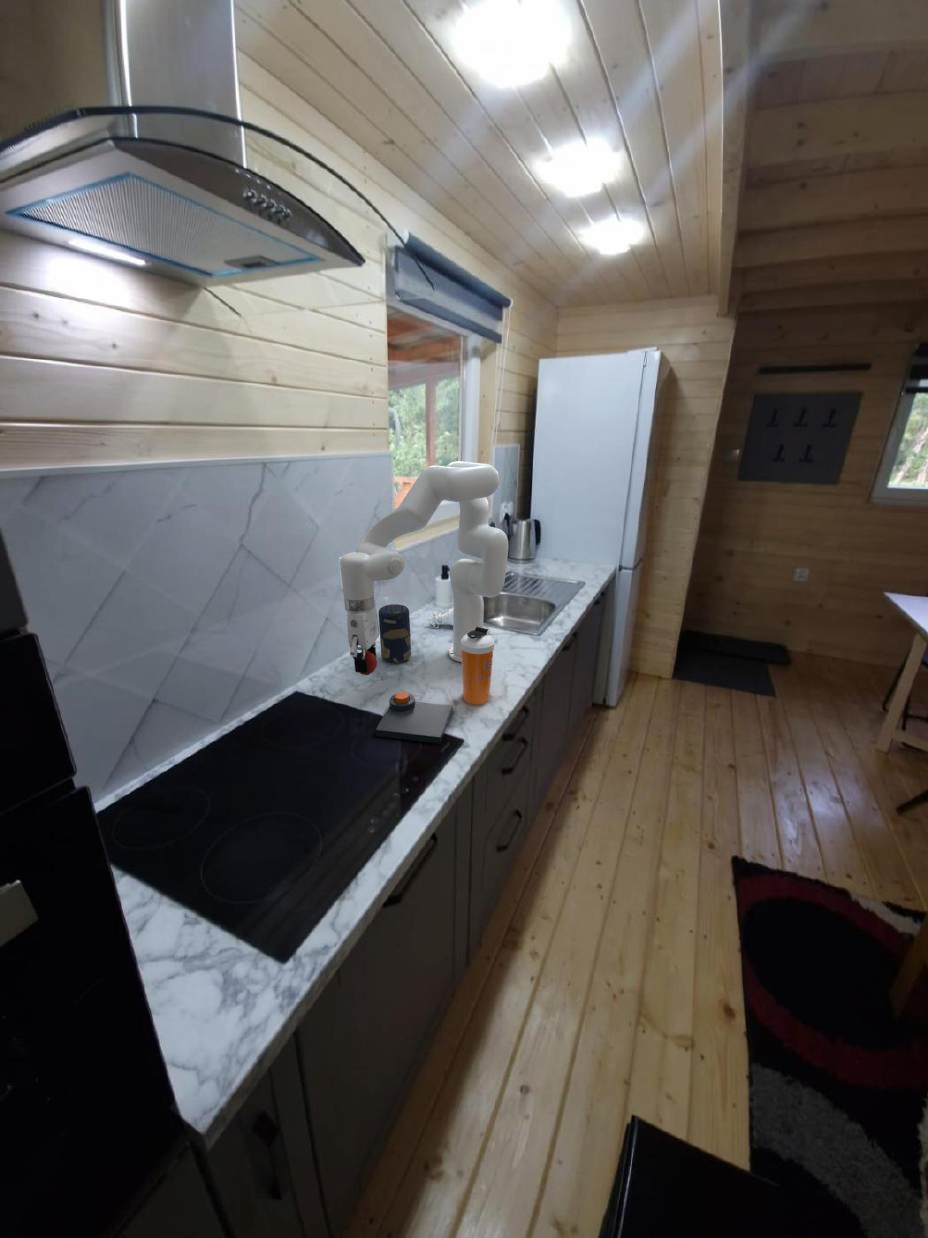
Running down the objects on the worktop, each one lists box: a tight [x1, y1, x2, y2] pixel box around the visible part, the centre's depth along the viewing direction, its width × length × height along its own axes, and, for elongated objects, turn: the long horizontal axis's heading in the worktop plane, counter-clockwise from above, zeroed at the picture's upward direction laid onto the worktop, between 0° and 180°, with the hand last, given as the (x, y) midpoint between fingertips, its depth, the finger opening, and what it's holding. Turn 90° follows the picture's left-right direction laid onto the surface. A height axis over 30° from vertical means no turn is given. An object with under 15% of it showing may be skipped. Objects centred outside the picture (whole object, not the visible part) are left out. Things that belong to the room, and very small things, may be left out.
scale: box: [375, 692, 453, 745], centre depth 124 cm, size 15×16×4 cm
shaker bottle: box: [461, 627, 495, 706], centre depth 132 cm, size 9×9×20 cm
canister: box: [378, 603, 412, 663], centre depth 155 cm, size 10×10×18 cm
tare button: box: [394, 691, 410, 704], centre depth 128 cm, size 4×4×2 cm
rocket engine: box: [426, 607, 453, 629], centre depth 181 cm, size 12×12×18 cm
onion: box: [358, 650, 378, 676], centre depth 130 cm, size 6×6×8 cm
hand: (366, 665), depth 131 cm, fingers closed on onion, 5 cm apart
